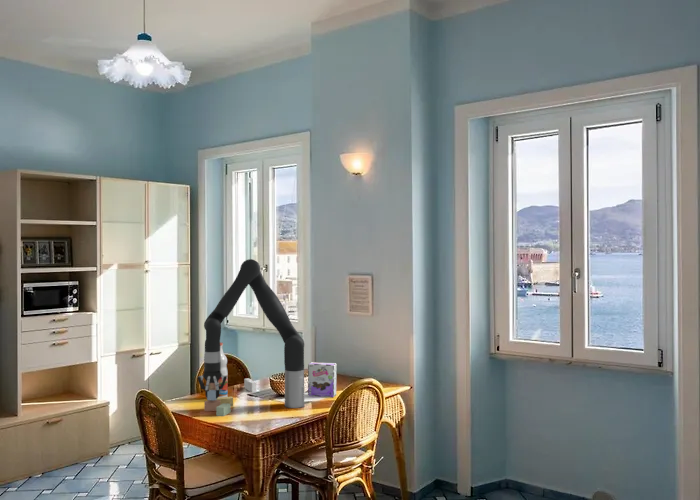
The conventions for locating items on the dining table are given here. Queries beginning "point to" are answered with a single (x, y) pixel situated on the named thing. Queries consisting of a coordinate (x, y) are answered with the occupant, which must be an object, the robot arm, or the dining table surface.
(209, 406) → the terracotta brick
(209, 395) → the slate brick
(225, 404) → the sage brick
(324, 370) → the candy box
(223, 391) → the fruit juice
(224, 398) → the ochre brick
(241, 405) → the dining table surface
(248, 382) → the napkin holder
